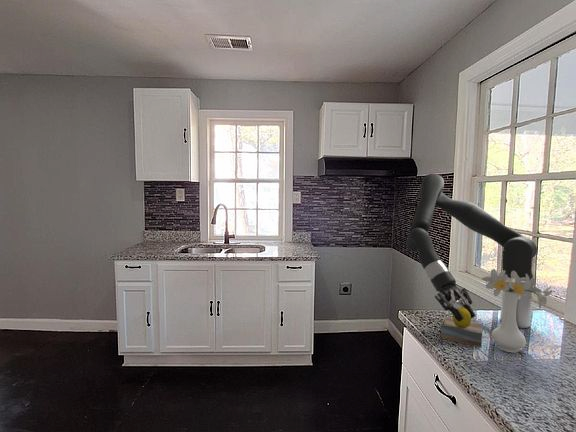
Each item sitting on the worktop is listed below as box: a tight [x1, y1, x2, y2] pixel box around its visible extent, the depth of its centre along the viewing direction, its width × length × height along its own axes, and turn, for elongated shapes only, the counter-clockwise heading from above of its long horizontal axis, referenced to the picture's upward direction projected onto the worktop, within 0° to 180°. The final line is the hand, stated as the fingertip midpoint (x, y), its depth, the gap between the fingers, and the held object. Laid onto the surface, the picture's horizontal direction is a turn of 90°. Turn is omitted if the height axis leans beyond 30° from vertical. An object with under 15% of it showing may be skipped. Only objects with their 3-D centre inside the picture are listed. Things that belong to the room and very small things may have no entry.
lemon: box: [452, 306, 472, 329], centre depth 114 cm, size 6×6×8 cm
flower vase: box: [482, 268, 553, 354], centre depth 105 cm, size 13×18×25 cm
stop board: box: [440, 316, 483, 348], centre depth 118 cm, size 18×12×4 cm, turn 150°
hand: (466, 318), depth 112 cm, fingers closed on lemon, 5 cm apart
